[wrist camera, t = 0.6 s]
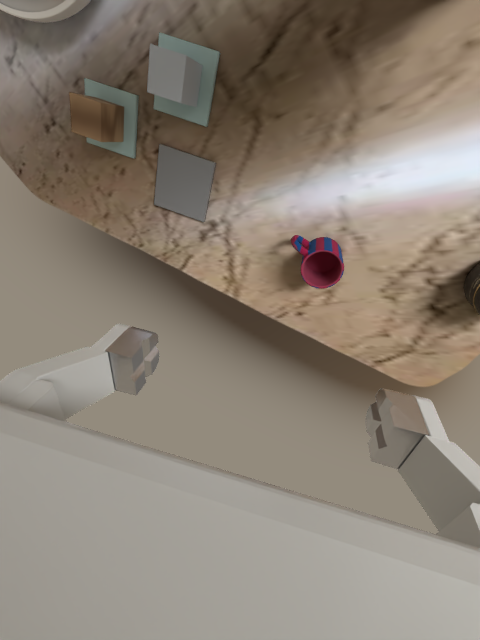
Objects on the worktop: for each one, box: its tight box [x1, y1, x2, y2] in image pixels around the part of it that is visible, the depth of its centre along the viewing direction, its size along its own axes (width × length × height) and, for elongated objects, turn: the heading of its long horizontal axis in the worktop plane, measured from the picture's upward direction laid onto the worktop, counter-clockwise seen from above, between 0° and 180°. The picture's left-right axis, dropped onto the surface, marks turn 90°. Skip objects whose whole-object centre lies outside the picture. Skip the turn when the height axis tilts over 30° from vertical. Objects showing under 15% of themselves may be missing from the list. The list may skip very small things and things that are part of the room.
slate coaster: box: [154, 144, 216, 222], centre depth 51 cm, size 10×10×1 cm
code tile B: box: [154, 32, 220, 127], centre depth 43 cm, size 9×9×1 cm
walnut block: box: [69, 92, 124, 142], centre depth 45 cm, size 5×5×6 cm
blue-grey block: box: [147, 44, 203, 107], centre depth 40 cm, size 5×5×6 cm
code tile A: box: [84, 78, 138, 158], centre depth 48 cm, size 9×9×1 cm
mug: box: [291, 235, 344, 288], centre depth 49 cm, size 7×10×7 cm
